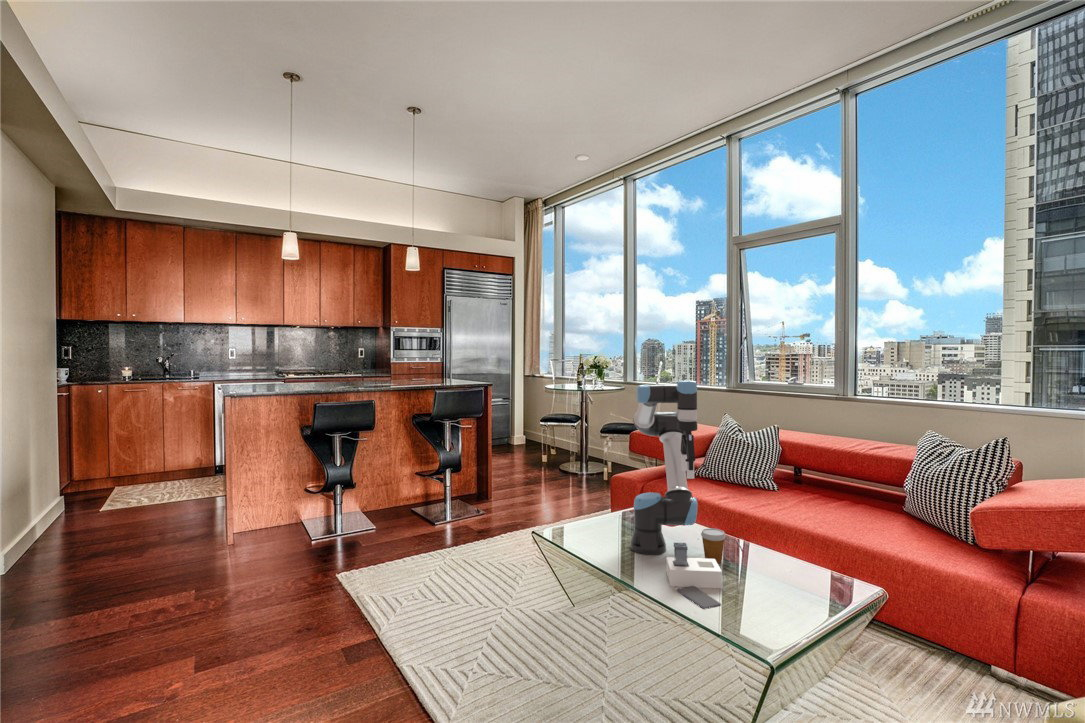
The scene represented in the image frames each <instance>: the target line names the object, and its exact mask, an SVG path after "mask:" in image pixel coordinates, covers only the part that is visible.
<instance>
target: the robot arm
mask: <svg viewBox="0 0 1085 723" xmlns="http://www.w3.org/2000/svg"><path fill="white" fill-rule="evenodd" d="M636 401H637V402H638V407H637V411H635V413H634V414H633V418H632V422H633V424H634V427H635V428H636V430H638V431H639V432H640V433H641V434H644V435H646V436H649V437H658V438H659V441H660V442H661V443H662V444H663V456H664V466H665V474H666V485H667V491H666V492H665V493H664V496H662V494H661V493H660V492H650V491H649V492H643V493H640V494H637V495H636V496H635V498H634V500H633V501H634V502H633V510H634V512H633V515H634V517H633V520H634V522H633V525H634V526H633V533H632V535H631V538H630V542H629V545H630V549H631V551H633V552H635V553H638V554H642V555H647V556H648V555H650V556H651V555H652V556H653V555H659V554H663V553H665V552H666V551H667V544H666V541H665V537H664V535H663V532H662V531H663V530H662V528H663V527H662V526H665V525H666V526H693V525H695V523H696V522H697V514H698V500H697V497H695V496H693V492H692V491H691V490H690V489H688V488H689V487H688V481H687V480H691V479H693V480H695V462H696V450H695V440H694V434H693V433H692V432H695V431H698V421H697V420H698V384H697V381H695V380H678V381H677V382H676V384H646V383H645V384H639V385H637V387H636ZM658 404H676V408H677V409H676V410H677V411H674V410H673V411H656V410H657V407H658Z"/></svg>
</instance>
